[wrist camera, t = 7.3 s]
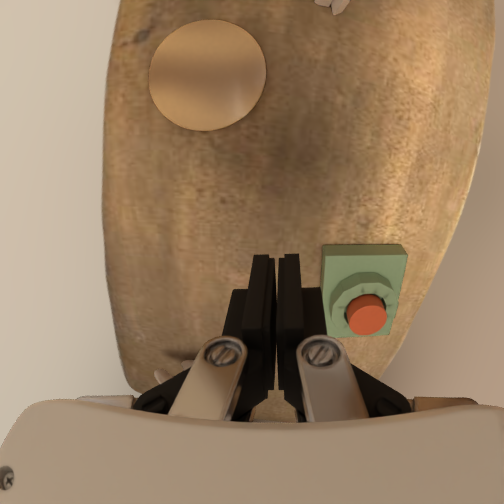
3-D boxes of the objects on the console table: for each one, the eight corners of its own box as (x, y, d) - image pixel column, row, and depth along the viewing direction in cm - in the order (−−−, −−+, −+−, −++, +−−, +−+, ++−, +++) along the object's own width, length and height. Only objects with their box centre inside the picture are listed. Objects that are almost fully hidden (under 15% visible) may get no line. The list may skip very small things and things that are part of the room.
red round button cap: (348, 294, 27) (351, 306, 25) (385, 293, 26) (390, 304, 25) (344, 324, 28) (346, 336, 27) (378, 322, 28) (382, 334, 26)
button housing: (322, 244, 29) (327, 266, 25) (401, 244, 28) (414, 264, 24) (317, 325, 33) (319, 350, 30) (384, 322, 32) (393, 346, 29)
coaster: (147, 32, 20) (144, 31, 20) (262, 15, 19) (262, 13, 19) (156, 136, 25) (154, 137, 25) (269, 126, 24) (269, 127, 23)
